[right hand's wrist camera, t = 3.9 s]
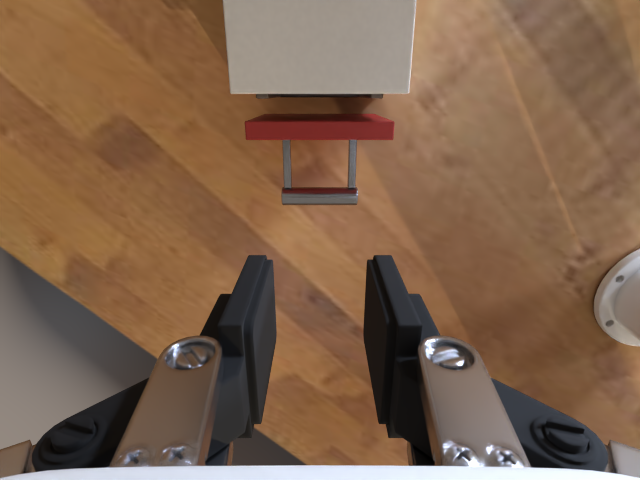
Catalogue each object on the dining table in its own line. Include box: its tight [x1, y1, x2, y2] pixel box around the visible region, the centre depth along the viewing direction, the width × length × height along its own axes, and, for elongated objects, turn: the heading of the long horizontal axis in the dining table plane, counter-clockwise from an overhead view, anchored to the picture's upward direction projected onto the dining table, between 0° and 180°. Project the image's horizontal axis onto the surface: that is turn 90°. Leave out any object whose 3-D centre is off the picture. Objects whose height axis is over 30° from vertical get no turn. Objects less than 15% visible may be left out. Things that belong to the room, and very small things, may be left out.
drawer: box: [245, 94, 394, 205], centre depth 28 cm, size 21×10×10 cm, turn 0°
